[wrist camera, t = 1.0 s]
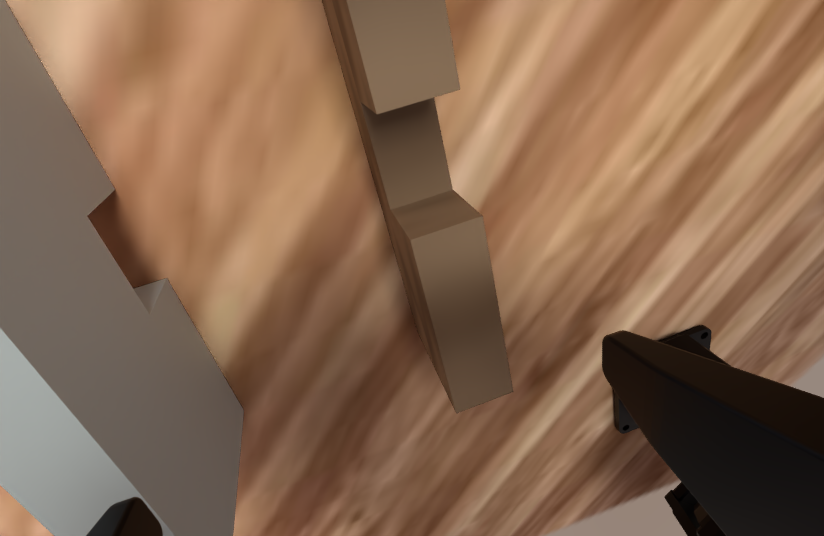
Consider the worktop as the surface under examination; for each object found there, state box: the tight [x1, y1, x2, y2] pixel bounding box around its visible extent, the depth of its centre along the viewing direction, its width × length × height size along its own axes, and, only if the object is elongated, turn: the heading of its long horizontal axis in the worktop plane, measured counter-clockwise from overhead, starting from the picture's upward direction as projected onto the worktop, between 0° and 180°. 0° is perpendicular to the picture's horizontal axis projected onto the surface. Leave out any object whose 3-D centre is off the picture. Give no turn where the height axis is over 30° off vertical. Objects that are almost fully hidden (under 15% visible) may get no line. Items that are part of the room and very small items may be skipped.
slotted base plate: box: [322, 0, 513, 413], centre depth 17 cm, size 20×2×6 cm, turn 14°
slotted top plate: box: [0, 0, 244, 536], centre depth 15 cm, size 20×2×9 cm, turn 14°
